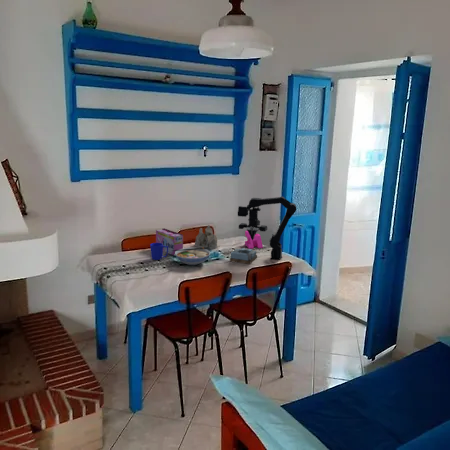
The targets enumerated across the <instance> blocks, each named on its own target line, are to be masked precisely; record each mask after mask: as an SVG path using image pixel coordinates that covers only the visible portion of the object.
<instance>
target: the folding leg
mask: <svg viewBox="0 0 450 450" xmlns="http://www.w3.org/2000/svg"><path fill="white" fill-rule="evenodd" d="M230 258H234V259H241V260H247V261H250V260H251V254H245V253H239V252H232V251H231V252H230Z"/></svg>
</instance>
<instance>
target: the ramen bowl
mask: <svg viewBox="0 0 450 450" xmlns="http://www.w3.org/2000/svg"><path fill="white" fill-rule="evenodd" d="M210 250H211V249H210V248H209V247H201V248H199V247H183V249H180V250H172V251H176V252H175V255H174V256H175V257H176V258H177V260H178V261H180V262H181V263H183V264H186V265H188V266H196V265H199V264H202V263H204V262H205V261H207V260H208V258H209V256H210V255H211V251H210Z"/></svg>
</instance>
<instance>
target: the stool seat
mask: <svg viewBox="0 0 450 450" xmlns="http://www.w3.org/2000/svg"><path fill="white" fill-rule="evenodd" d="M231 252H239V253H245V254H251V260H250V261H247V260H241V259H234V258H231V257H230V258H229V262H233V263H241V264H247V265H250V264H252V263H253V262H254V261H256V260H257V259H258V255H257V250H253V249H249V248H245V247H244V248H243V247H242V248H235V249H234V250H233V251H231Z"/></svg>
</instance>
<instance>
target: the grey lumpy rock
mask: <svg viewBox="0 0 450 450" xmlns="http://www.w3.org/2000/svg"><path fill="white" fill-rule="evenodd" d="M198 231H199V232H198V234H197V235H196V237H195V242H194V247H195V248H201V247H209V248H210V249H209V250H213V249H218V238H217V235H216V234H214V233H213V229H212V228H211V227H210V225H209V224H208V225H207V226H206V228H205V230H204V232H203V228H199V230H198Z"/></svg>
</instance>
